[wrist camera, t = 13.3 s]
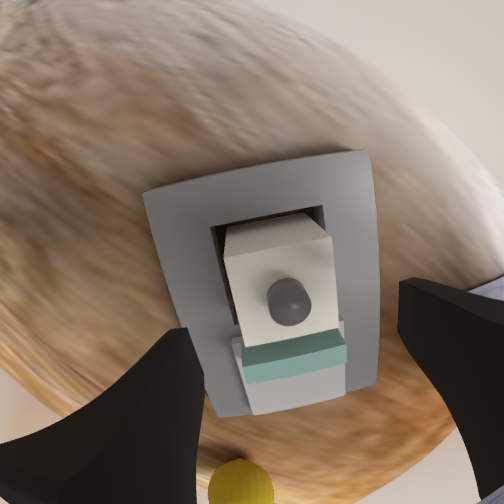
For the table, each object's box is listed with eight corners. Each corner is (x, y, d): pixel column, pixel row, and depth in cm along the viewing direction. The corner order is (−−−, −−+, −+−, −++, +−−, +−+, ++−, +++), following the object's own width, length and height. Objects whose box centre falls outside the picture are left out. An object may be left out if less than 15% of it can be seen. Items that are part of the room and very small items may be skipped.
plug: (313, 282, 17) (345, 339, 12) (242, 296, 17) (246, 361, 12) (303, 212, 16) (340, 244, 10) (226, 227, 16) (222, 267, 10)
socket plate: (353, 149, 15) (368, 149, 13) (366, 366, 20) (376, 383, 18) (152, 188, 15) (141, 193, 13) (218, 398, 20) (218, 418, 18)
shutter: (340, 315, 16) (356, 341, 13) (342, 389, 18) (354, 417, 15) (231, 338, 16) (231, 368, 13) (252, 409, 18) (255, 439, 15)
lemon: (199, 449, 22) (194, 524, 14) (259, 438, 22) (267, 518, 14) (223, 475, 24) (223, 540, 16) (276, 465, 23) (285, 533, 16)
